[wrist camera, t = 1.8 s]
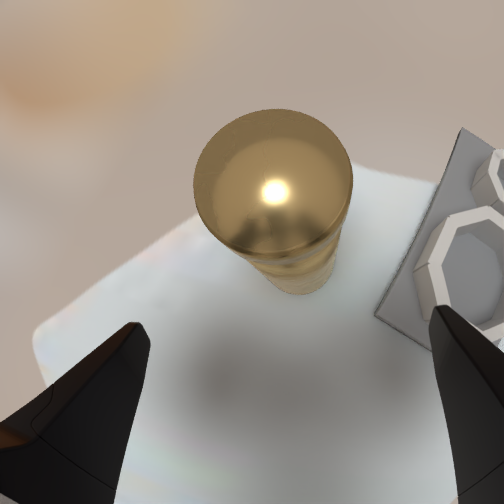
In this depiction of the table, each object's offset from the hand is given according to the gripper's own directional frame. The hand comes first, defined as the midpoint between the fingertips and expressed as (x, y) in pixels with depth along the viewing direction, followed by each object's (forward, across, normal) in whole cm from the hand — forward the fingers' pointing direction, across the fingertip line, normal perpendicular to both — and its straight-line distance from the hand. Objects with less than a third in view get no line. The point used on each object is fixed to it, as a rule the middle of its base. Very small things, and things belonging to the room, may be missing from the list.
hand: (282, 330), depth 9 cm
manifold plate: (+11, -13, +5) cm, 18 cm away
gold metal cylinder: (+11, 0, +5) cm, 12 cm away
